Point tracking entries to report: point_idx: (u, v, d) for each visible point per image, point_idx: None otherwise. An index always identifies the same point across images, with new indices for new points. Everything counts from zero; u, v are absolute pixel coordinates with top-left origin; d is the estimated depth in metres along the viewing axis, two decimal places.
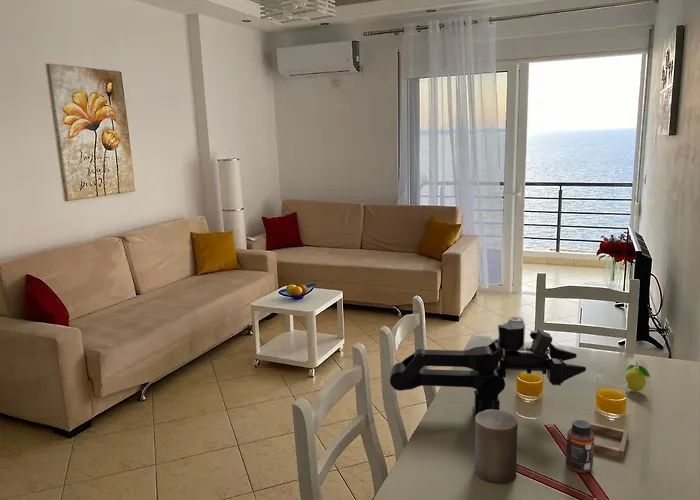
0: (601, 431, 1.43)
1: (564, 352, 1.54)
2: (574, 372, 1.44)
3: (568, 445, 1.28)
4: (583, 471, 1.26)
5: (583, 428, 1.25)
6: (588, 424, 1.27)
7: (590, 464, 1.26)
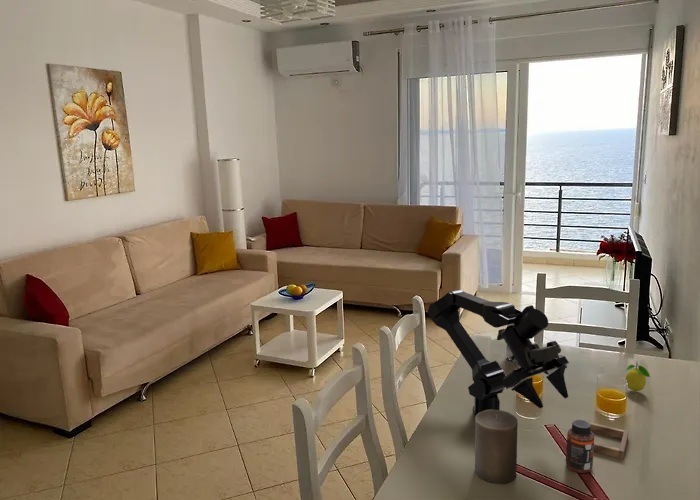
0: (601, 431, 1.43)
1: (561, 384, 1.36)
2: (530, 397, 1.32)
3: (568, 445, 1.28)
4: (583, 471, 1.26)
5: (583, 428, 1.25)
6: (588, 424, 1.27)
7: (590, 464, 1.26)
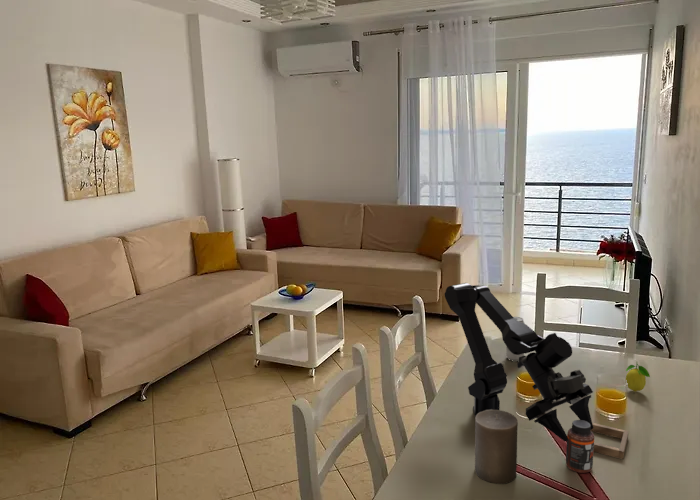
0: (601, 431, 1.43)
1: (586, 415, 1.31)
2: (554, 430, 1.27)
3: (568, 445, 1.28)
4: (583, 471, 1.26)
5: (583, 428, 1.25)
6: (588, 424, 1.27)
7: (590, 464, 1.26)
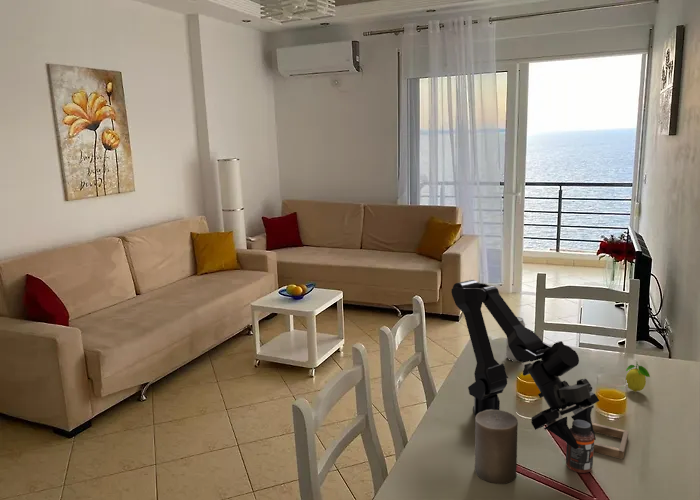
0: (601, 431, 1.43)
1: None
2: (564, 437, 1.27)
3: (568, 445, 1.28)
4: (583, 471, 1.26)
5: (583, 428, 1.25)
6: (588, 424, 1.27)
7: (590, 464, 1.26)
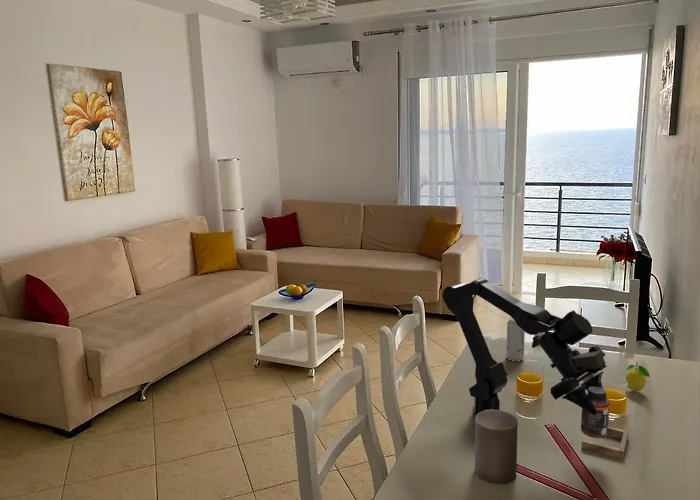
0: None
1: None
2: (583, 405, 1.28)
3: (585, 412, 1.30)
4: (600, 436, 1.29)
5: (600, 394, 1.28)
6: (603, 390, 1.29)
7: (606, 429, 1.29)
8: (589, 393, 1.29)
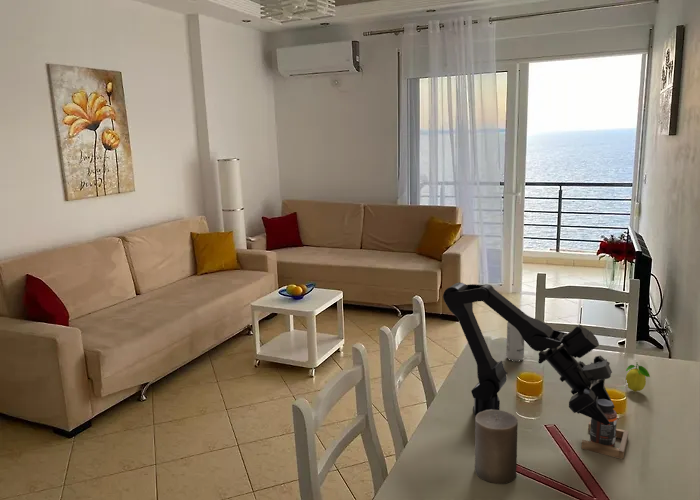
0: None
1: (606, 396, 1.41)
2: (596, 416, 1.33)
3: (596, 425, 1.36)
4: (611, 445, 1.36)
5: (610, 406, 1.35)
6: (610, 401, 1.37)
7: (615, 438, 1.37)
8: (599, 406, 1.36)
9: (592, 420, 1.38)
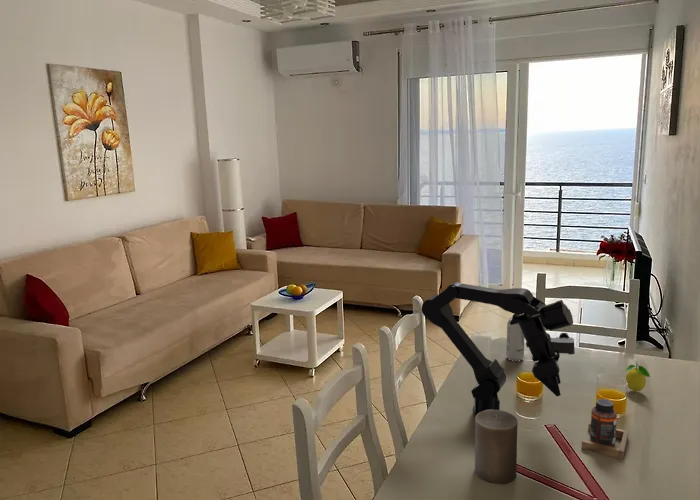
0: None
1: None
2: (551, 386, 1.38)
3: (596, 425, 1.36)
4: (611, 446, 1.36)
5: (610, 406, 1.35)
6: (610, 401, 1.37)
7: (615, 438, 1.37)
8: (599, 406, 1.36)
9: (592, 420, 1.38)
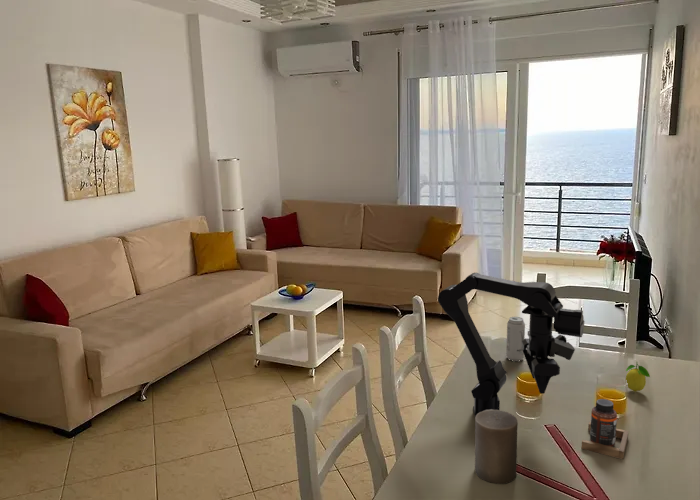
0: None
1: None
2: (540, 384, 1.40)
3: (596, 425, 1.36)
4: (611, 446, 1.36)
5: (610, 406, 1.35)
6: (610, 401, 1.37)
7: (615, 438, 1.37)
8: (599, 406, 1.36)
9: (592, 420, 1.38)
